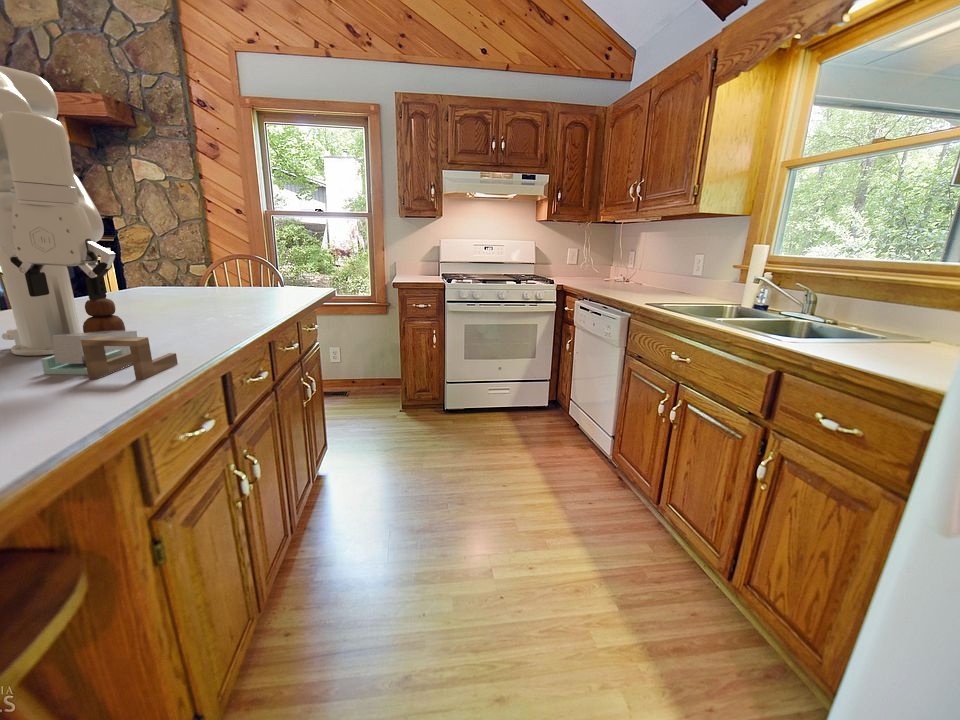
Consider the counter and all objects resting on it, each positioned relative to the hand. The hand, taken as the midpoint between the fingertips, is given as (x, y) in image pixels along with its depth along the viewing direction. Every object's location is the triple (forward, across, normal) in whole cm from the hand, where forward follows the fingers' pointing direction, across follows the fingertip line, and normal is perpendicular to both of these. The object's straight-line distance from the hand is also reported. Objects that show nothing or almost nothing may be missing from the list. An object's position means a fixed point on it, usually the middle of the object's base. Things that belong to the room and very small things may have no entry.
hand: (69, 297), depth 77 cm
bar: (+10, +1, +3) cm, 10 cm away
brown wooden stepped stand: (+13, +11, -2) cm, 17 cm away
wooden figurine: (+14, -5, +13) cm, 20 cm away
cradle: (+13, +1, -1) cm, 13 cm away
